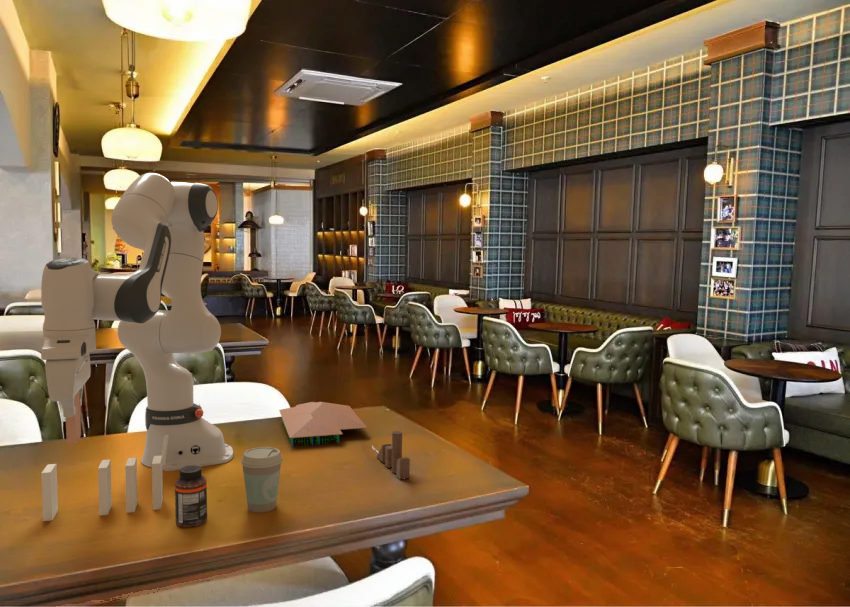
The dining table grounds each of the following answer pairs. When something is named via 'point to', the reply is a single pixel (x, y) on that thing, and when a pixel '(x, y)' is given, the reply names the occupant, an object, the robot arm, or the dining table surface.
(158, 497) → the domino
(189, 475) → the supplement bottle
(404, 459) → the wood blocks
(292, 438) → the house
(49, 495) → the domino end
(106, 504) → the domino
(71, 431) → the domino
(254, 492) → the coffee cup
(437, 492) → the dining table surface
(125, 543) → the dining table surface
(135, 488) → the domino
